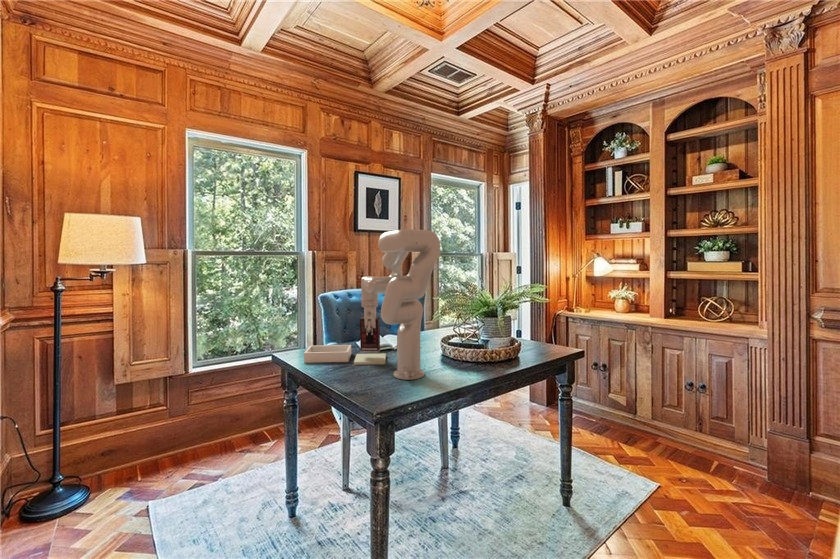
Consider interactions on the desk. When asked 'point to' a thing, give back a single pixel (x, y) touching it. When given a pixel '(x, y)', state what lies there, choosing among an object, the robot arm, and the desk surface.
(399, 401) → the desk surface
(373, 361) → the board
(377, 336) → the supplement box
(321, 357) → the bin
